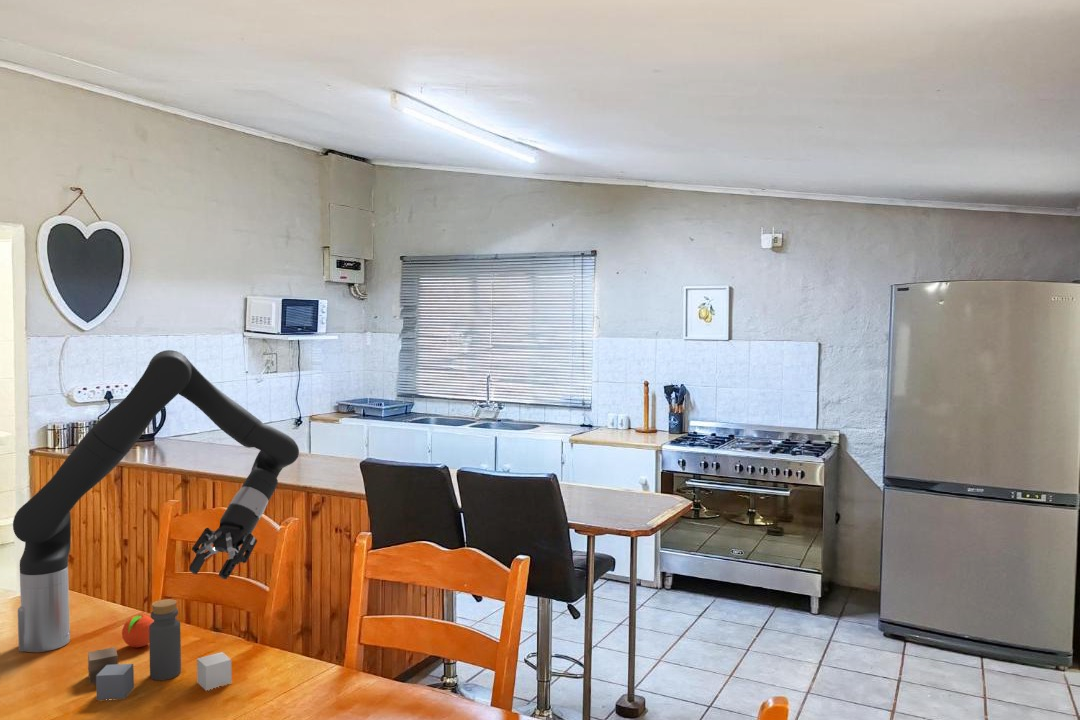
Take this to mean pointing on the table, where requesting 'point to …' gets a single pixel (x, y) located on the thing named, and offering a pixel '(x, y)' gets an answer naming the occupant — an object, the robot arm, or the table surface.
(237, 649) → the table surface
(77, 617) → the table surface
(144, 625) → the peach
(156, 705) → the table surface
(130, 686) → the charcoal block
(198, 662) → the offwhite block
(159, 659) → the bottle
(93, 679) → the walnut block
